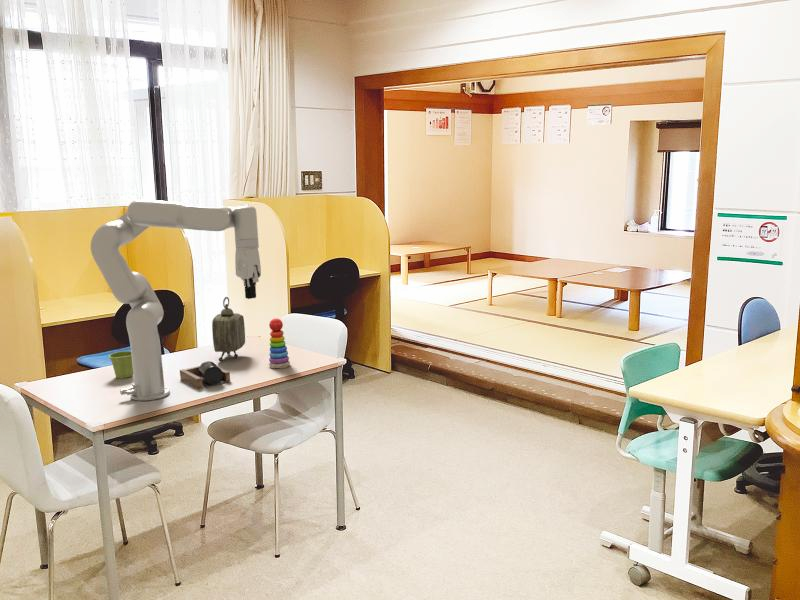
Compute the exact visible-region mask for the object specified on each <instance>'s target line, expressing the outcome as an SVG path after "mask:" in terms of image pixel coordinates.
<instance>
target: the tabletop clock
mask: <svg viewBox="0 0 800 600" xmlns="http://www.w3.org/2000/svg"><path fill="white" fill-rule="evenodd" d="M226 300H227V303H225V302H226ZM222 305H223V308H222V310H221V312H220V313H219V314H217V315H215V316H214V317H213V319H212V322H211V323H212V324H211V328H212V329H211V332H212V343H213V349H214V352H216V353H221V356H219V357H218V361H219V362H223V360H224V358H223V357H224V356H225V353H226V354H227V355H230V354H231V352H232V353H233V354H234V358H235V359H238V357H239V354H238V353H237V351H238V350H240V349H242V348H243V346H244V345H245V344H246V327H245V318H244V315H242V314H240V313H236V312H235V313H234V311H233V310H232V308H229V306H230V299H229V297H228V296H225V297H224V298H223V301H222Z"/></svg>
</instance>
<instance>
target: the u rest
mask: <svg viewBox="0 0 800 600" xmlns="http://www.w3.org/2000/svg"><path fill="white" fill-rule="evenodd" d="M218 367H219V368H220V369H221V370H222V373H223V377H222V380H221V381H220V382H219V383H218V385H222V384H221V383H223V384H225V382H227V383H230V382H231V374H230V373H231V372H230V371H228V370H226V369H224V368H222V367H220V366H218ZM199 368H200V365H198V366H192V367H188V368H184V369H179V376H180V380H181V381H182V380H183V381H182V382H184V383H185V384H188V385H190V386H191V385H192V387H193V386H194V387H193V388H195V387H196V388H195V389H197V390H199V389H200V388H201V389H204V387H205V388H209V387H214V386H218V385H217V384H215V385H209V384H207V383H206V382H205V381H204V380H203V379H202V378H201V376H200V375H199ZM229 381H230V382H229Z"/></svg>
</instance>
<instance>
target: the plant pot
mask: <svg viewBox="0 0 800 600" xmlns="http://www.w3.org/2000/svg"><path fill="white" fill-rule="evenodd" d="M108 358H109V359H110V361H111V363H112V367H113V370H114V375H115V378H116V377H117V378H118V379H120V378H121V379H127V378H130V377H134V375H133V365H132V356H131V350H124V351H123V350H122V351H117V352H113V353H110V354H109V355H108Z"/></svg>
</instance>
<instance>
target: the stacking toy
mask: <svg viewBox="0 0 800 600" xmlns="http://www.w3.org/2000/svg"><path fill="white" fill-rule="evenodd" d="M283 327H284V325H283V321H282V320H281V319H279V318H272V319H270V321H269V329H270V333H269V335H270V337H269V341H270V342H269V346H270V348H269V351H270V352H269V363H268V365H269V366H268V367H270V368H271V369H275V368H280V369H285V368H288V367H289V366H291V365H290V364H291V362H290V357H289V352H288V347H287V346H286V341H285V336H284V331H283V330H282V329H283Z"/></svg>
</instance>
